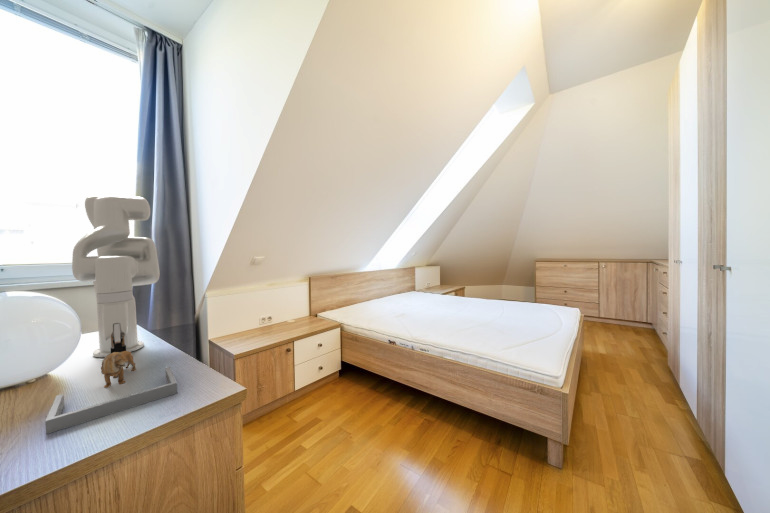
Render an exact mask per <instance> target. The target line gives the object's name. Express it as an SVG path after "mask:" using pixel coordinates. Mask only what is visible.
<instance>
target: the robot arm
mask: <svg viewBox="0 0 770 513" xmlns="http://www.w3.org/2000/svg"><path fill="white" fill-rule="evenodd" d="M84 208H85V213H86V216H87V218H88V220H89V222H90V224H91V225H92V227H93V230H91V231H90V232H88V233H86V234H85V235H84V236H83V237H81V238H80V239H79V240H78V241H77V243H75V246H74V247H73V251H72V261H71V263H72V264H71V265H72V266H71V269H72V270H71V271H72V275H73V277H74V278H75V279H76V280H77V281H79V282H84V283H89V282H91V283H92V284H93V287H94V291H95V299H96V312H97V313H96V314H97V325H98V326H97V327H98V328H97V329H98V344H99V348H97V349H95V350H94V351H93V352H92V354H93V355H92V356H93V357H95V358H105V357H106V356H107V355H109V354H111V353H113V352H123V351H129V352H131V353H132V352H135V351H137V350H140V349H141V348H143V347H144V342H143V341H140V340H139V339H138V325H137V323H138V322H137V321H138V320H137V308H136V307H137V306H136V304H137V303H136V298H135V296H134V295H133V287H138V286H146V285H153V284H156V283H158V282H159V280H160V274H161V273H160V272H161V271H160V264H159V258H158V251H157V248H156V247H157V245H156V244H155V242H154V240H153V239H152V238H150V237H146V236H145V237H144V236H130V221H143V222H144V221H148V220H149V219H150V217H151V206H150V203H149V201H148V200H147V199H146V198H145V197H142V196H129V195H119V194H103V193H102V194H101V193H99V194H91V195H89V196H87V197H85V200H84ZM95 250H96V251H97V256H95V255H93V256H88V254H90V253H92V252H93V251H95Z"/></svg>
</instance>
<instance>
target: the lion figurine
mask: <svg viewBox="0 0 770 513" xmlns="http://www.w3.org/2000/svg"><path fill="white" fill-rule="evenodd" d="M126 364H127V365H126ZM130 366H131V369H130V372H131V373H132V372H136V371H137V368H136V363H135V362H134V356H133V354H132V352H129V351H123V352H113V353H111V354H109V355H107V356H106V357H103V360H102V361H101V367H100V370H101V372H100V373H101V374H102V375H103V378H104V382H105V385H104V386H103V387H104V389H107V388H110V387H111V386H112V381H111V377H112V378H113V379H115V378H117V383H118V384H119V385H122V384H125V383H126V381H125V379H124V374H125V370H126V369H129V367H130ZM124 368H125V370H124Z"/></svg>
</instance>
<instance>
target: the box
mask: <svg viewBox="0 0 770 513" xmlns="http://www.w3.org/2000/svg"><path fill="white" fill-rule="evenodd" d="M164 369H165V370H164V371H165V379H166V381H167V384H162V385H159V386H156V387H151V388H148V389H145V390H142V391H138V392H134V393H132V394H128V395H125V396H121V397H118V398H115V399H111V400H108V401H104V402H100V403H96V404H94V405H93V404H92V405H90V406H86V407H83V408H80V409H75V410H72V411H69V412H65V413H62V412H63V409H64V406H65V396H64V393H62V394H57V395H56V396H55V399H54V401H53V403H52V406H51V407H50V409H49V412H48V413H47V417H46V418H45V421H44V424H45V426H44V427H45V435H49V434H50V433H54V432H58V431H61V430H64V429H67V428H70V427H74V426H77V425H80V424H84V423H86V422H90V421H92V420H96V419H99V418H103V417H106V416H109V415H111V414H115V413H119V412H122V411H124V410H129V409H130V408H134V407H138V406H141V405H144V404H147V403H151V402H153V401H156V400H159V399H163V398H165V397H168V396H173V395H175V394H178V382H177V380H176V378H175V375H174V373H173V371H172V368H171V366H167V367H165V368H164Z"/></svg>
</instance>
